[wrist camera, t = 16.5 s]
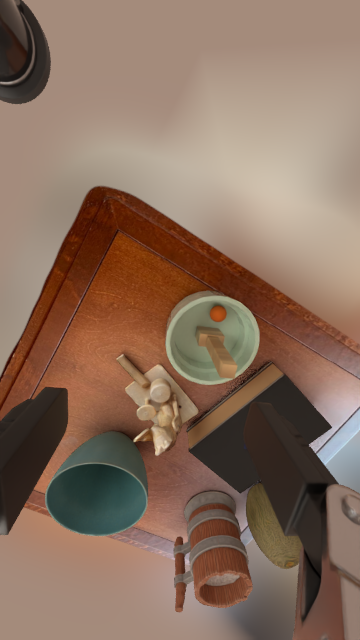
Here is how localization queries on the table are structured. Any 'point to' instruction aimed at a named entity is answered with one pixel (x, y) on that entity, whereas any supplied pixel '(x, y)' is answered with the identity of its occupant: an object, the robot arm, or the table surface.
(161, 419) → the wooden toy
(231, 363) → the stick
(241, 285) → the table surface
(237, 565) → the mug
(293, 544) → the fruit
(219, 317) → the ball
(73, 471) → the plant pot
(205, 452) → the book
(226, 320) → the bowl
